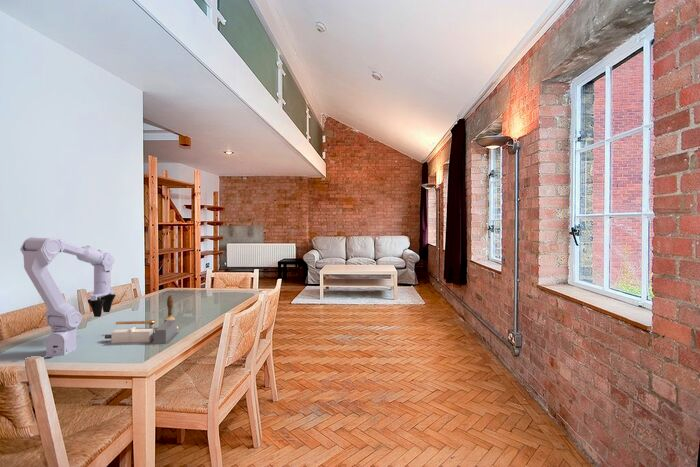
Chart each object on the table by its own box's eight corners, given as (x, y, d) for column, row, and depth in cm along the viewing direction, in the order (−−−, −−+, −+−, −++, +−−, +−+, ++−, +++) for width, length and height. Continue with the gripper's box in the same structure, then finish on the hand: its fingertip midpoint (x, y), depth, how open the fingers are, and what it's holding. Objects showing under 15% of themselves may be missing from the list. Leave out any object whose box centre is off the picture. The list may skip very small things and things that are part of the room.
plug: (149, 342, 149) (149, 329, 149) (102, 343, 146) (102, 330, 146) (153, 338, 153) (153, 326, 153) (108, 339, 150) (108, 327, 150)
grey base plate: (168, 345, 147) (168, 329, 147) (102, 347, 143) (102, 331, 143) (179, 333, 163) (179, 319, 162) (120, 335, 159) (120, 320, 158)
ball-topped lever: (114, 324, 156) (114, 322, 156) (117, 323, 158) (117, 320, 158) (153, 323, 158) (153, 321, 158) (155, 322, 161) (155, 319, 161)
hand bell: (183, 329, 170) (184, 294, 169) (166, 334, 162) (167, 297, 162) (172, 326, 174) (172, 292, 173) (155, 330, 167) (155, 295, 166)
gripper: (104, 284, 146) (104, 318, 147) (120, 278, 160) (120, 309, 161) (84, 284, 145) (84, 318, 145) (102, 278, 159) (102, 310, 160)
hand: (102, 314), depth 153 cm, fingers open, 7 cm apart
